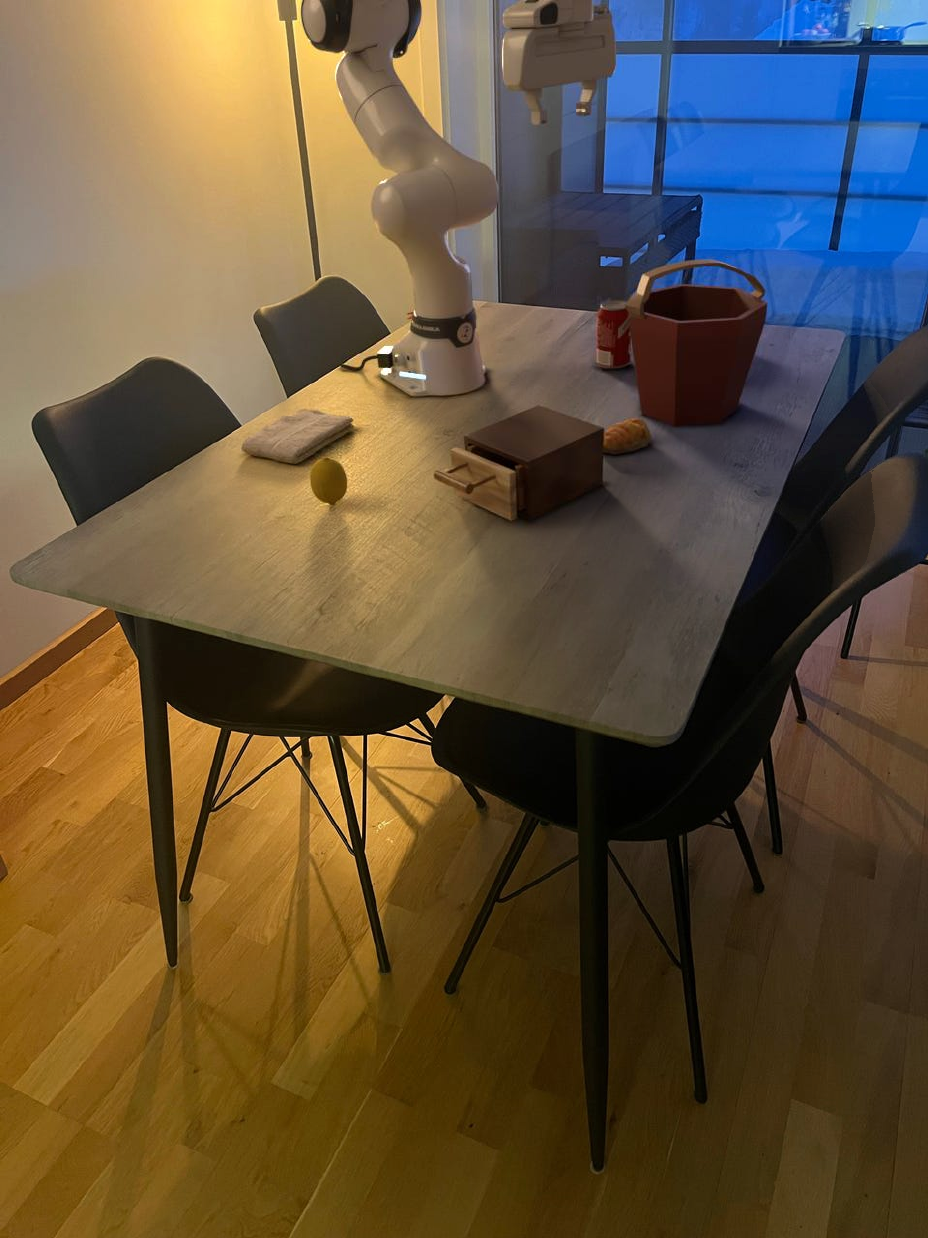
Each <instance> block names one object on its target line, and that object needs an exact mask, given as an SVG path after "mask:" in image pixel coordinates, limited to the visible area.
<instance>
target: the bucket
mask: <svg viewBox="0 0 928 1238" xmlns="http://www.w3.org/2000/svg"><path fill="white" fill-rule="evenodd" d="M703 267H717V268H718V267H719V268H722V269H725V270H728V271H731V272H734V273H736V274H737V275H738V274H739V275H740V276H743V277H744V278H745V279H746V280H747V282H748V283H749V284H750V285H751V286H752V288H753V289H754V290H753V291H752V292H751V293H750V292H748V291H746V290H744V289H743V288H740V287H734V286H719V285H705V284H687V283H679V284H675V285H671V286H666V287H661V288H656V289H653V285H654V284H655V281H656V280H659V279H661V278H663V277H666V276H668V275H671V274H674V273H677V272H680V271H685V270H688V269H693V268H703ZM765 295H766V289H765V287H764V286H763V285H762V284H761V282H760V281H759V280H758V278H756V275H752V274H750V273H748V272H746V271H744V270H742V269H740V268H739V267H736V266H734V265H731V264H729V263H725V262H723V261H719V260H716V259H712V258H711V259H694V260H693V259H692V260H682V261H678V262H674V263H668V264H666V265H662V266H659V267H656V268H653V269H650V270H649V271H647V272H645V273H642V274H641V276H640V280H639V282H638V285H637V289H636V292H635V293H634V294H633V295H631V296H630V298H628V300H627V301H626V302H627V303H626V304H625V307H626V309H627V311H628V313H629V315H630V335H631V350H632V357H633V363H634V370H635V377H636V384H637V390H638V397H639V404H640V411H641V415H643V416H645V417H649V418H651V419H654V420H657V421H660V422H663V423H665V424H668V425H672V426H674V427H675V426H676V427H677V426H691V425H692V426H693V425H711V424H719V423H720V422H721V421H723V420H724V419H726V418H727V417H728V416H730V415H731V414H732V413H733V412H735V411H736V410H737V409H738V407H739V404H740V400H741V397H742V394H743V391H744V388H745V385H746V382H747V378H748V376H749V373H750V370H751V367H752V363H753V362H754V361H753V360H754V358H755V354H756V351H757V348H758V345H759V342H760V339H761V336H762V333H763V330H764V327H765V324H766V321H767V320H766V319H767V312H768V304H769V303H768V302H767V301H765V300H763V298H764V296H765Z"/></svg>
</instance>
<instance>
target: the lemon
mask: <svg viewBox="0 0 928 1238" xmlns="http://www.w3.org/2000/svg"><path fill="white" fill-rule="evenodd" d="M309 482H310V488H311V491H312V493H313V495H314V496H315V498H316V499H318V500H319V501H320V502H322V503H325V504H328V505H329V506H334V505H336V503H337V502H338V503H339V501H341V500H342V499H343V498H344V497H345V495H346V493H347V491H348V477H347V473H346V471H345V468H344V467H343V465H342V464H341V463H340V462H339V461H338V460H336V459H334V458H332V457H328V456H323V457H322V458H320V459H318V460H317V461H316V462H315V463H314V464H313V465H312V468H311V470H310V475H309Z"/></svg>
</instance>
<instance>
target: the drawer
mask: <svg viewBox="0 0 928 1238" xmlns="http://www.w3.org/2000/svg"><path fill="white" fill-rule="evenodd" d="M450 455H451V467H449V468H447V469H445V470H443V469H440V468H437V469H436V470H435V471H434V472H433V478H434V480H436V481H438V482H440V483H442V484H444V485H447V486H448V487H450V488H453V495H455V496H457V497H459V498H461V499H463V500H465V501H467V502H469V503H472V504H474V505H476V506H479V507H481V508H483V509H485V510H487V511H488V512H491V513H493V514H495V515H498V516H499V517H502V518H504V519H505V520H508V521H511V522H512V521H514V520H516V519H517V518H518V514H517V509H518V510H522V509H524V508H526V503H525V466H524V465H522V464H519V463H517V462H514V461H512V460H510V459H507V458H505V457H502V456H500V455H497V454H495V453H492V452H490V451H488V450H485V449H483V448H480V447H478V446H475V445H471V446H469V447H468V451H466V450H465V449H463V448H462V447H461V448H460V447H459V446H455V447H453V448H451V449H450Z"/></svg>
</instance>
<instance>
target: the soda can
mask: <svg viewBox="0 0 928 1238" xmlns="http://www.w3.org/2000/svg"><path fill="white" fill-rule="evenodd" d="M626 303H627V301H624V300H608V301H604V302H602V303H600V309H599V310H598V311H597V313H596V344H595V363H596V364H597V366H599V367H600V368H602V369H605V370H620V369H623V368H625V367H627V366H628V365H629V364H630V363H631V356H632V355H631V353H632V352H631V350H632V342H631V335H630V315H629V313H628V311H627V309H626V307H625V304H626Z"/></svg>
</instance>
